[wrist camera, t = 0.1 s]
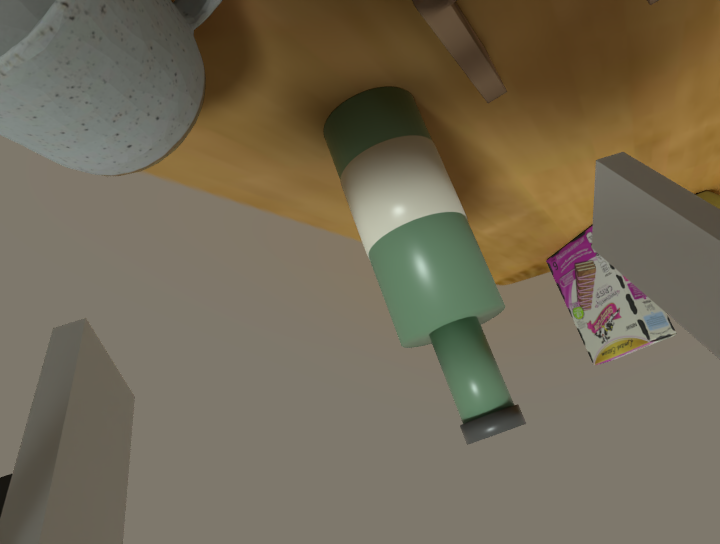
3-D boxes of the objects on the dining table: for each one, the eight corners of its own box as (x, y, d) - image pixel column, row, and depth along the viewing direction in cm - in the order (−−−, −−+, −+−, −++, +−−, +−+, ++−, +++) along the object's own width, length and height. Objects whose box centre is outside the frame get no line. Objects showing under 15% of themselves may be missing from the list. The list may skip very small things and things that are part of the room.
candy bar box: (589, 224, 75) (651, 342, 70) (618, 218, 77) (680, 333, 72) (542, 261, 85) (593, 367, 80) (569, 255, 87) (620, 358, 82)
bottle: (319, 103, 33) (449, 451, 27) (419, 74, 34) (570, 408, 27) (326, 159, 39) (434, 456, 33) (411, 133, 40) (534, 420, 33)
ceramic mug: (46, 74, 25) (79, 228, 23) (-160, -80, 17) (-144, 127, 15) (265, -41, 24) (325, 110, 21) (146, -265, 16) (220, -69, 14)
